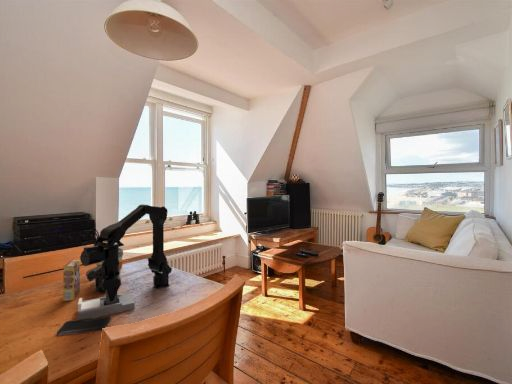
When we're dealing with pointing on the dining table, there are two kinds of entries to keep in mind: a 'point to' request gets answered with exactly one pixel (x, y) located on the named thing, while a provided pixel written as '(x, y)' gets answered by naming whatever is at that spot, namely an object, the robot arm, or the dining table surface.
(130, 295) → the socket plate
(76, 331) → the phone
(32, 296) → the dining table surface
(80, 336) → the dining table surface
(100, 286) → the supplement bottle
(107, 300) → the plug
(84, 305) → the shutter
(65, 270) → the candy box
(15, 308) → the dining table surface
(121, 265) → the reusable coffee cup
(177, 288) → the dining table surface
